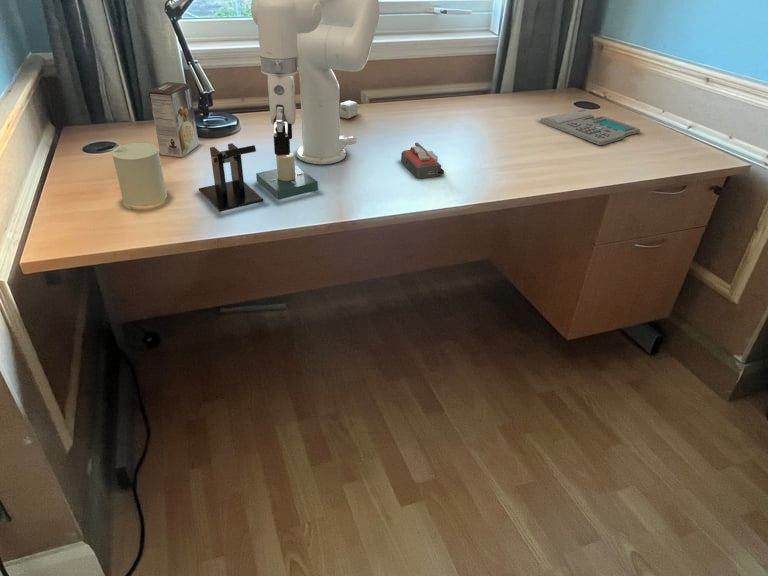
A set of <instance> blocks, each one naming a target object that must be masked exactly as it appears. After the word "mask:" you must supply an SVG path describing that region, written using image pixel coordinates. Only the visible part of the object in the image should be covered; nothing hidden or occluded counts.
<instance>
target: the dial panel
mask: <svg viewBox="0 0 768 576" xmlns="http://www.w3.org/2000/svg"><path fill="white" fill-rule="evenodd" d="M255 177H256V183H258V184H259V185H260V186H262V188H263V189H264V190H266V191H267V192H268V193H269V194H271V196H273V198H275V199H276V200H278V201H279V200H284V199H287V198H293V197H295V196H301V195H304V194H308V193H312V192H316V191H318V190H319V182H318V180H316V179H315V178H313V177H312V176H310V175H309V174H308V173H307V172H305V171H304V170H302V169H301V168H300V167H299V166H297V165H296V164H295V179H293V180H290V181H282V180H279V179H278V175H277V168H275V169H269V170H266V171H261V172H257V173H255Z"/></svg>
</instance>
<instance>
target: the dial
mask: <svg viewBox="0 0 768 576" xmlns="http://www.w3.org/2000/svg"><path fill="white" fill-rule="evenodd" d="M295 159H296V157H295V153H294V152H293V151H290V154H289V155H276V154H275V160H276V169H277V175H278V179H279V180H282V181H290V180H293V179H295V165H296V160H295Z"/></svg>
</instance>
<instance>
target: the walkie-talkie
mask: <svg viewBox="0 0 768 576" xmlns="http://www.w3.org/2000/svg"><path fill="white" fill-rule="evenodd" d="M400 155H401V156H400V161H401V163H402V164H403V165H404V166H405V168H407V169H408V170H409V171H410V172H411V174H413V175H414V176H415V178H417V179H426V178H427V179H428V178H436V177H437V178H438V177H440V176H442V175H445V170H444V169H443V168H442V164H440V163H439V162H438V155H436V153H434V151H433V150H427V149H426V148H424V147H423V146H422V145H421V144H420V143H419V142H415V143H414V146H411V147H410V148H409V149H406V150H403V151H401V154H400Z"/></svg>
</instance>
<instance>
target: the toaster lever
mask: <svg viewBox="0 0 768 576" xmlns="http://www.w3.org/2000/svg"><path fill="white" fill-rule="evenodd" d="M220 152H221V153H222V157H223V165H225V164H228V163H229V164H230V162H232V161H234V157H235V156H238V155H241V156H242V155H246V154H251V153H255V152H257V148H256V145H255V144H253V145H247V146H242V147H237V149H232V150H228V149H226V150H221V151H220Z"/></svg>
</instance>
